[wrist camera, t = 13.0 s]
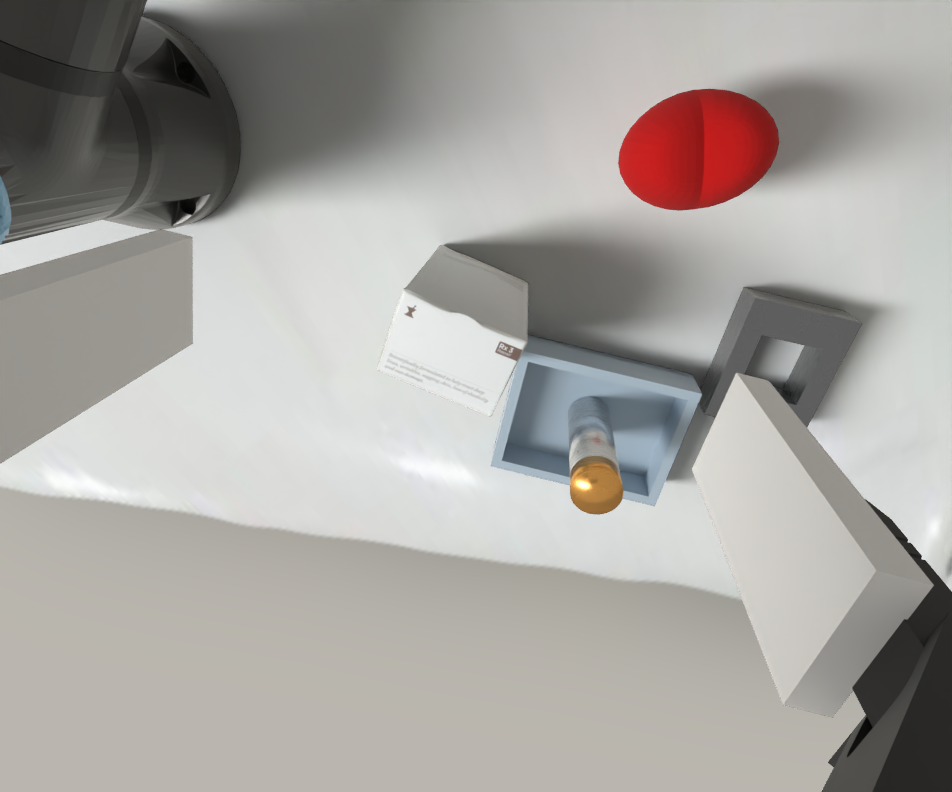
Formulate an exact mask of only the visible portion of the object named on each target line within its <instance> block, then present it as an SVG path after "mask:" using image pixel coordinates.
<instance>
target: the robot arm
mask: <svg viewBox="0 0 952 792" xmlns="http://www.w3.org/2000/svg"><path fill="white" fill-rule="evenodd" d="M146 2H147V0H0V245H1V244H5V243H9V242H13V241H17V240H21V239H25V238H29V237H33V236H37V235H41V234H45V233H49V232H54V231H58V230H62V229H66V228H70V227H74V226H78V225H82V224H86V223H90V222H94V221H98V220H106V221H111V222H115V223H120V224H124V225H128V226H133V227H137V228H142V229H155V230H156V229H160V230H156V231H153V232H149V233H146V234H142V235H139V236H135V237H132V238H128V239H125V240H121V241H118V242H114V243H111V244H107V245H104V246H100V247H97V248H93V249H90V250H86V251H83V252H79V253H76V254H72V255H69V256H65V257H62V258H58V259H55V260H51V261H48V262H44V263H41V264H37V265H34V266H30V267H27V268H23V269H19V270H16V271H12V272H9V273H5V274H2V275H0V463H2V462H4V461H5V460H7V459H8V458H10V457H12V456H13V455H15V454H17V453H18V452H20V451H21V450H23V449H25V448H26V447H28V446H29V445H31V444H33V443H34V442H36V441H37V440H39V439H41V438H42V437H44V436H45V435H47V434H49V433H50V432H52V431H53V430H55V429H57V428H58V427H60V426H61V425H63V424H65V423H66V422H68V421H69V420H71V419H73V418H74V417H76V416H77V415H79V414H81V413H82V412H84V411H85V410H87V409H89V408H90V407H92V406H93V405H95V404H97V403H98V402H100V401H101V400H103V399H105V398H106V397H108V396H109V395H111V394H113V393H114V392H116V391H117V390H119V389H121V388H122V387H124V386H125V385H127V384H129V383H130V382H132V381H133V380H135V379H137V378H138V377H140V376H141V375H143V374H145V373H146V372H148V371H149V370H151V369H153V368H154V367H156V366H157V365H159V364H161V363H162V362H164V361H165V360H167V359H169V358H170V357H172V356H173V355H175V354H177V353H178V352H180V351H181V350H183V349H185V348H186V347H188V346H189V345H191V344H193V312H192V237H190V236H186V235H182V234H178V233H174V232H170V231H166V230H162V229H170V228H175V227H179V226H183V225H186V224H190V223H193V222H196V221H198V220H201V219H202V218H204V217H206V216H208V215H209V214H211V213H212V212H213V211H214V210H215V209H216V208H217V207H218V206H220V204H221V203H222V202H223V201H224V199H225V198H226V197H227V195H228V193H229V192H230V190H231V188H232V186H233V183H234V181H235V178H236V175H237V171H238V166H239V160H240V133H239V126H238V121H237V116H236V113H235V109H234V106H233V103H232V100H231V98H230V95H229V93H228V91H227V89H226V87H225V85H224V83H223V81H222V79H221V77H220V76H219V74H218V73H217V71H216V70H215V68H214V67H213V65H212V64H211V63H210V61H209V60H208V59H207V58H206V56H205V55H204V54H203V53H202V52H201V51H200V50H199V49H198V48H197V47H196V46H195V45H194V44H193V43H192V42H191V41H189V40H188V39H187V38H186V37H184V36H183V35H182V34H180V33H179V32H177V31H176V30H174V29H173V28H171V27H169V26H167V25H165V24H163V23H161V22H159V21H156V20H153V19H150V18H147V17H143V16H142V14H143V11H144V8H145V5H146ZM692 471H693V474H694V476H695V479H696V482H697V484H698V487H699V489H700V492H701V495H702V497H703V500H704V502H705V505H706V507H707V510H708V513H709V515H710V518H711V520H712V523H713V526H714V528H715V531H716V533H717V536H718V538H719V541H720V544H721V546H722V549H723V551H724V554H725V557H726V559H727V562H728V564H729V567H730V569H731V572H732V575H733V577H734V580H735V582H736V585H737V588H738V590H739V593H740V595H741V598H742V600H743V603H744V606H745V608H746V611H747V613H748V616H749V619H750V621H751V624H752V626H753V629H754V631H755V634H756V636H757V639H758V642H759V644H760V647H761V649H762V652H763V655H764V657H765V660H766V663H767V665H768V667H769V670H770V673H771V675H772V678H773V681H774V683H775V686H776V688H777V691H778V693H779V696H780V699H781V701H782V704H783V705H785V706H789V707H792V708H797V709H800V710H804V711H808V712H812V713H816V714H820V715H824V716H828V717H831V718H833V716H834V715H835V714H836V712H837V711H838V710H839V709H840V707H841V706H842V705H843V703H844V702H845V701H846V699H847V698H848V697H849V696H850V694H851V693H852V692H853V691H854V692H855V694H856V696H857V698H858V700H859V702H860V704H861V706H862V708H863V710H864V712H865V714H866V716H865V717H864V718H863V719H862V720H861V722H860V723H859V724H858V726H857V727H856V728H855V729H854V731H853V732H852V733H851V734H850V735H849V737H848V738H847V739H846V740H845V742H844V743H843V744H842V745H841V747H840V748H839V749H838V750H837V752H836V753H835V754H834V755H833V757H832V758H831V759H830V760H829V762H828V763H829V764H831V765H832V766H833V767H834V769H833V771H832V773H831V775H830V776H829V778H828V780H827V782H826V784H825V786H824V788H823V790H822V792H952V592H951V590H950V589H949V588H948V587H947V586H946V584H945V583H944V582H943V581H942V580H941V578H940V577H939V576H938V575H937V574H936V572H935V571H934V570H933V569H932V568H931V566H930V565H929V564H928V563H927V562H926V560H922V559H921V557H922V556H921V554H920V553H919V552H918V551H917V550H916V548H915V547H914V546H913V545H912V544H911V543H907V541H908V539H907V538H906V536H905V535H904V534H903V533H902V532H901V530H900V529H899V528H898V527H897V526H896V525H895V523H894V522H893V521H892V520H891V519H890V518H889V517H887V516H886V515H885V514H884V513H882V512H881V511H880V510H879V509H877V508H876V507H875V506H874V505H872V504H871V503H870V502H868V501H867V500H865V499H864V498H863V497H862V496H861V494H860V493H859V492H858V491H857V489H856V488H855V487H854V486H853V484H852V483H851V482H850V481H849V479H848V478H847V477H846V476H845V475H844V473H843V472H842V471H841V470H840V468H839V467H838V466H837V465H836V463H835V462H834V461H833V460H832V458H831V457H830V456H829V455H828V453H827V452H826V451H825V450H824V449H823V447H822V446H821V445H820V444H819V442H818V441H817V440H816V439H815V437H814V436H813V435H812V434H811V432H810V431H809V430H808V429H807V428H806V426H805V425H804V424H803V423H802V421H801V420H800V419H799V418H798V416H797V415H796V414H795V413H794V411H793V410H792V409H791V408H790V406H789V405H788V404H787V403H786V402H785V400H784V399H783V398H782V397H781V395H780V394H779V393H778V392H777V390H776V389H775V388H774V387H773V385H772V384H771V383H770V382H769V381H768V380H764V379H760V378H756V377H752V376H748V375H744V374H740V373H736V374H735V376H734V379H733V381H732V383H731V385H730V387H729V389H728V392H727V394H726V396H725V398H724V400H723V403H722V405H721V407H720V409H719V411H718V413H717V416H716V418H715V420H714V422H713V424H712V426H711V429H710V431H709V433H708V435H707V437H706V440H705V442H704V444H703V446H702V448H701V450H700V453H699V455H698V457H697V459H696V461H695V463H694V466H693V468H692Z"/></svg>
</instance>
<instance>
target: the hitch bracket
mask: <svg viewBox="0 0 952 792" xmlns="http://www.w3.org/2000/svg"><path fill="white" fill-rule="evenodd" d="M861 325H862V322H860V321H859V320H857V319H856V318H854V317H853V316H851V315H850V314H848V313H847V312H845V311H842V310H838V309H834V308H830V307H825V306H821V305H817V304H813V303H808V302H804V301H800V300H796V299H791V298H787V297H783V296H779V295H774V294H770V293H766V292H762V291H757V290H753V289H749V288H745V287H744V288H743V290H742V292H741V295H740V297H739V300H738V302H737V304H736V307H735V309H734V311H733V314H732V316H731V319H730V321H729V323H728V326H727V328H726V330H725V333H724V335H723V338H722V340H721V342H720V345H719V347H718V349H717V352H716V354H715V357H714V359H713V361H712V364H711V366H710V368H709V371H708V373H707V376H706V378H705V380H704V383H703V385H702V387H701V390H700V391H701V393H702V396H701V398H700V401H699V404H700V406H701V408H702V410H703V412H704V414H705V415H709V416H713V417H716V416H717V413H718V411H719V409H720V407H721V405H722V403H723V400H724V398H725V396H726V394H727V392H728V389H729V387H730V385H731V383H732V381H733V379H734V376H735V374H736V373H740V374H745V371H746V369H747V367H748V365H749V363H750V360H751V358H752V356H753V354H754V352H755V349H756V347H757V345H758V343H759V341H760V338H761V336H762V335H763V336H767V337H772V338H776V339H780V340H784V341H788V342H793V343H797V344H801V345H805V346H804V348H803V350H802V352H801V354H800V356H799V359H798V361H797V363H796V365H795V367H794V369H793V371H792V373H791V375H790V377H789V379H788V381H787V383H786V385H785V387H784V389H779V388H775V387H774V388H775V389H776V390H777V392H778V393H779V394H780V395H781V397H782V398H783V399H784V400H785V402H786V403H787V404H788V405H789V406H790V408H791V409H792V410H793V411H794V413H795V414H796V415H797V416H798V418H799V419H800V420H801V421H802V423H803V424H804V425H805V426H806V428H807V427H808V425H809V423H810V421H811V419H812V417H813V415H814V413H815V411H816V410H817V408H818V406H819V404H820V402H821V400H822V398H823V396H824V394H825V393H826V391H827V389H828V387H829V385H830V383H831V381H832V379H833V377H834V376H835V374H836V372H837V370H838V368H839V366H840V364H841V362H842V360H843V359H844V357H845V355H846V353H847V351H848V349H849V347H850V345H851V343H852V342H853V340H854V338H855V336H856V334H857V332H858V330H859V328H860V326H861Z"/></svg>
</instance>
